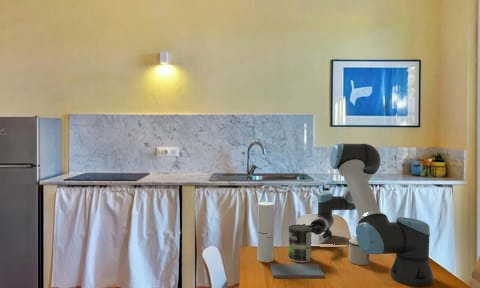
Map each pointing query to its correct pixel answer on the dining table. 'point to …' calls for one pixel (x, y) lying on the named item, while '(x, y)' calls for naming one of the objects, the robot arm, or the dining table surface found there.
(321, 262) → the dining table surface
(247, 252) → the dining table surface
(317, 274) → the slate board
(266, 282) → the dining table surface
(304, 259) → the coffee can
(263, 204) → the cylindrical container
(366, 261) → the teacup with lid
